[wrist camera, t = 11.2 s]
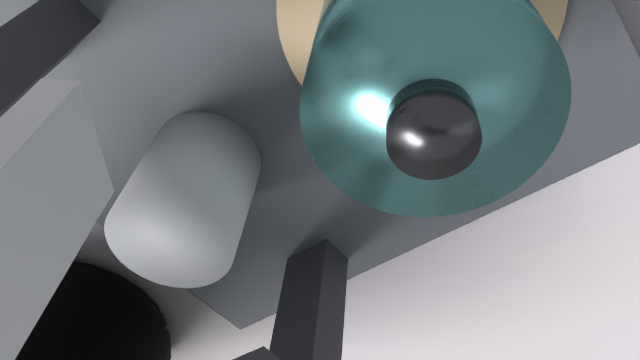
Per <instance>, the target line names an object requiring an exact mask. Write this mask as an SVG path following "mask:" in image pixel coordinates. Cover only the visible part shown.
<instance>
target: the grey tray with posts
mask: <svg viewBox="0 0 640 360" xmlns="http://www.w3.org/2000/svg"><path fill="white" fill-rule="evenodd" d="M323 2H324V0H0V118H1V117H2V116H3V115H4V114H5V113H6V112H7V111H8V110H9V109H10V108H11V107H12V106H13V105H14V104H15V103H16V102H17V101H19V100H20V99H21V98H22V97H23V96H24V95H25V94H26V93H27V92H28V91H29V90H30V89H31V88H32V87H33V86H34V85H35V84H36V83H37V82H38V81H39V80H40V79H41V78H47V79H68V80H81V83H82V86H83V90H84V93H85V96H86V100H87V103H88V106H89V110H90V113H91V116H92V120H93V123H94V126H95V129H96V133H97V136H98V139H99V143H100V146H101V149H102V153H103V156H104V159H105V163H106V166H107V169H108V173H109V176H110V179H111V183H112V186H113V189H114V193H113V194H112V196H111V198H110V199H109V201H108V203H107V204H106V206H105V208H104V210H103V211H102V213H101V215H100V216H99V218H98V220H97V222H99V223H100V224H101V225H103V226H104V233H105V238H106V241H107V243H108V245H109V248H110V249H111V251H112V252H113V254H114V255H115V256H116V257H117V259H118V260H119V261H120V262H121V263H122V264H123V265H125V266H126V267H127V268H128V269H130V270H131V271H133V272H134V273H136V274H137V275H139V276H141V277H143V278H145V279H147V280H149V281H152V282H155V283H158V284H161V285H165V286H170V287H176V288H186V289H187V290H189V291H190V292H191V293H193V294H194V295H195V296H197V297H198V298H199V299H200V300H202V301H203V302H204V303H206V304H207V305H208V306H210V307H211V308H212V309H214V310H215V311H216V312H218V313H219V314H220V315H222V316H223V317H224V318H226V319H227V320H228V321H230V322H231V323H232V324H234V325H235V326H236V327H237V328H239V329H243V328H245V327H247V326H249V325H251V324H253V323H255V322H258V321H260V320H262V319H264V318H266V317H268V316H270V315H273V314H275V313H277V314H276V319H275V324H274V329H273V335H272V340H271V345H270V350H268V349H267V348H265V347H264V346H263V347H261V348H259V349H256V350H254V351H252V352H249V353H247V354H245V355H242V356H240V357H238V358H235V359H233V360H341V356H342V341H343V326H344V312H345V297H346V283H347V280H348V279H350V278H352V277H354V276H356V275H358V274H360V273H363V272H365V271H367V270H369V269H371V268H373V267H375V266H378V265H380V264H382V263H384V262H386V261H388V260H390V259H393V258H395V257H397V256H399V255H401V254H403V253H405V252H408V251H410V250H412V249H414V248H416V247H418V246H420V245H423V244H425V243H427V242H429V241H431V240H433V239H435V238H438V237H440V236H442V235H444V234H446V233H448V232H450V231H453V230H455V229H457V228H459V227H461V226H463V225H465V224H468V223H470V222H472V221H474V220H476V219H478V218H480V217H483V216H485V215H487V214H489V213H491V212H493V211H495V210H498V209H500V208H502V207H504V206H506V205H508V204H510V203H513V202H515V201H517V200H519V199H521V198H523V197H525V196H528V195H530V194H532V193H534V192H536V191H538V190H540V189H543V188H545V187H547V186H549V185H551V184H553V183H555V182H558V181H560V180H562V179H564V178H566V177H568V176H570V175H573V174H575V173H577V172H579V171H581V170H583V169H585V168H588V167H590V166H592V165H594V164H596V163H598V162H600V161H603V160H605V159H607V158H609V157H611V156H613V155H615V154H618V153H620V152H622V151H624V150H626V149H628V148H630V147H633V146H635V145H637V144H639V143H640V57H639V55H638V53H637V51H636V49H635V47H634V45H633V43H632V41H631V39H630V36H629V34H628V32H627V30H626V28H625V26H624V24H623V22H622V20H621V18H620V16H619V14H618V12H617V10H616V8H615V6H614V4H613V2H612V0H531V2H532V3H533V5H534V6H535V8H536V9H537V11H538V12H539V14H540V16H541V17H542V19H543V20H544V22H545V23H546V25H547V26H548V28H549V29H550V31H551V32H552V34H553V36H554V37H555V39H556V41H557V42H558V44H559V45H560V47H561V49H562V52H563V54H564V57H565V59H566V61H567V65H568V69H569V74H570V78H571V104H570V112H569V115H568V119H567V123H566V126H565V129H564V131H563V133H562V136H561V138H560V140H559V142H558V144H557V146H556V147H555V149H554V151H553V152H552V154H551V155H550V157H549V158H548V159H547V160H546V162H545V163H544V164H543V165H542V167H541V168H540V169H539V170H538V171H537V172H536V173H535V174H534V175H533V176H532V177H531V178H530V179H528V180H527V181H526V182H525V183H523V184H522V185H521V186H520V187H518V188H517V189H515V190H514V191H512V192H511V193H509V194H507V195H506V196H504V197H502V198H500V199H498V200H496V201H494V202H492V203H490V204H488V205H485V206H483V207H480V208H477V209H474V210H471V211H467V212H463V213H460V214H454V215H448V216H439V217H411V216H403V215H397V214H392V213H388V212H384V211H381V210H378V209H375V208H372V207H369V206H367V205H365V204H363V203H361V202H358V201H357V200H355V199H353V198H352V197H350V196H348V195H347V194H345V193H344V192H343V191H341V190H340V189H339V188H337V187H336V186H335V185H334V184H333V183H332V182H331V181H330V180H329V179H328V178H327V177H326V176H325V175H324V174H323V173H322V171H321V170H320V169H319V167H318V166H317V165H316V163H315V162H314V160H313V158H312V156H311V155H310V153H309V151H308V148H307V146H306V143H305V141H304V138H303V134H302V129H301V125H300V114H299V106H300V94H301V89H302V85H303V80H304V76H305V72H306V68H307V64H308V61H309V57H310V53H311V49H312V45H313V41H314V37H315V33H316V29H317V25H318V22H319V18H320V14H321V10H322V6H323Z"/></svg>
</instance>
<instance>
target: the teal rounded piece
mask: <svg viewBox="0 0 640 360" xmlns="http://www.w3.org/2000/svg"><path fill="white" fill-rule="evenodd" d="M570 104H571V78H570V74H569V69H568V65H567V61H566V59H565V57H564V54H563V52H562V49H561V47H560V45H559V44H558V42H557V41H556V39H555V37H554V36H553V34H552V32H551V31H550V29H549V28H548V26H547V25H546V23H545V22H544V20H543V19H542V17H541V16H540V14H539V12H538V11H537V9H536V8H535V6H534V5H533V3H532V2H531V0H324V2H323V6H322V10H321V14H320V18H319V22H318V25H317V29H316V33H315V37H314V41H313V45H312V49H311V53H310V57H309V61H308V64H307V68H306V72H305V76H304V80H303V85H302V89H301V94H300V106H299V114H300V125H301V129H302V134H303V138H304V141H305V143H306V146H307V148H308V151H309V153H310V155H311V156H312V158H313V160H314V162H315V163H316V165H317V166H318V167H319V169H320V170H321V171H322V173H323V174H324V175H325V176H326V177H327V178H328V179H329V180H330V181H331V182H332V183H333V184H334V185H335V186H336V187H337V188H339V189H340V190H341V191H343V192H344V193H345V194H347V195H348V196H350V197H352V198H353V199H355V200H357V201H358V202H361V203H363V204H365V205H367V206H369V207H372V208H375V209H378V210H381V211H384V212H388V213H392V214H397V215H403V216H411V217H439V216H448V215H454V214H460V213H463V212H467V211H471V210H474V209H477V208H480V207H483V206H485V205H488V204H490V203H492V202H494V201H496V200H498V199H500V198H502V197H504V196H506V195H507V194H509V193H511V192H512V191H514V190H515V189H517V188H518V187H520V186H521V185H522V184H523V183H525V182H526V181H527V180H528V179H530V178H531V177H532V176H533V175H534V174H535V173H536V172H537V171H538V170H539V169H540V168H541V167H542V165H543V164H544V163H545V162H546V160H547V159H548V158H549V157H550V155H551V154H552V152H553V151H554V149H555V147H556V146H557V144H558V142H559V140H560V138H561V136H562V133H563V131H564V129H565V126H566V123H567V119H568V115H569V112H570Z"/></svg>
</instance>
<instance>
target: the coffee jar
mask: <svg viewBox="0 0 640 360" xmlns="http://www.w3.org/2000/svg"><path fill="white" fill-rule="evenodd" d="M170 359H171V342H170V333H169V331H168V329H167V328H166V321H165V319H164V317H163V315H162V313H161V311H160V309H159V307H158V305H157V304H156V303H155V302H154V301H153V300H152V299H151V298H150V297H149V296H148V295H147V294H146V293H145V292H144V291H143V290H142V289H140V288H139V287H137V286H136V285H134V284H132V283H131V282H129V281H128V280H126V279H124V278H123V277H121V276H120V275H118V274H115V273H112V272H110V271H107V270H105V269H102V268H99V267H97V266H94V265H91V264H85V263H80V262H74V261H73V262H72V264H71V265H70V267H69V269H68V271H67V272H66V274H65V276H64V277H63V279H62V281H61V282H60V284H59V286H58V287H57V289H56V291H55V293H54V294H53V296H52V298H51V299H50V301H49V303H48V304H47V306H46V308H45V309H44V311H43V313H42V315H41V316H40V318H39V320H38V321H37V323H36V325H35V326H34V328H33V330H32V331H31V333H30V335H29V337H28V338H27V340H26V342H25V343H24V345H23V347H22V348H21V350H20V352H19V353H18V355H17V357H16V359H15V360H170Z"/></svg>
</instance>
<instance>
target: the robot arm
mask: <svg viewBox="0 0 640 360" xmlns="http://www.w3.org/2000/svg"><path fill="white" fill-rule="evenodd" d="M113 193H114V189H113V186H112V183H111V179H110V176H109V173H108V169H107V166H106V163H105V159H104V156H103V153H102V149H101V146H100V143H99V139H98V136H97V133H96V129H95V126H94V123H93V120H92V116H91V113H90V110H89V106H88V103H87V100H86V96H85V93H84V90H83V86H82V83H81V80H68V79H47V78H41V79H40V80H39V81H38V82H37V83H36V84H35V85H34V86H33V87H32V88H31V89H30V90H29V91H28V92H27V93H26V94H25V95H24V96H23V97H22V98H21V99H20V100H19V101H17V102H16V103H15V104H14V105H13V106H12V107H11V108H10V109H9V110H8V111H7V112H6V113H5V114H4V115H3V116H2V117H1V118H0V360H15V359H16V357H17V355H18V353H19V352H20V350H21V348H22V347H23V345H24V343H25V342H26V340H27V338H28V337H29V335H30V333H31V331H32V330H33V328H34V326H35V325H36V323H37V321H38V320H39V318H40V316H41V315H42V313H43V311H44V309H45V308H46V306H47V304H48V303H49V301H50V299H51V298H52V296H53V294H54V293H55V291H56V289H57V287H58V286H59V284H60V282H61V281H62V279H63V277H64V276H65V274H66V272H67V271H68V269H69V267H70V265H71V264H72V262H73V260H74V259H75V257H76V255H77V254H78V252H79V250H80V248H81V247H82V245H83V243H84V242H85V240H86V238H87V237H88V235H89V233H90V232H91V230H92V228H93V226H94V225H95V223H96V221H97V220H98V218H99V216H100V215H101V213H102V211H103V210H104V208H105V206H106V204H107V203H108V201H109V199H110V198H111V196H112V194H113Z"/></svg>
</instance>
